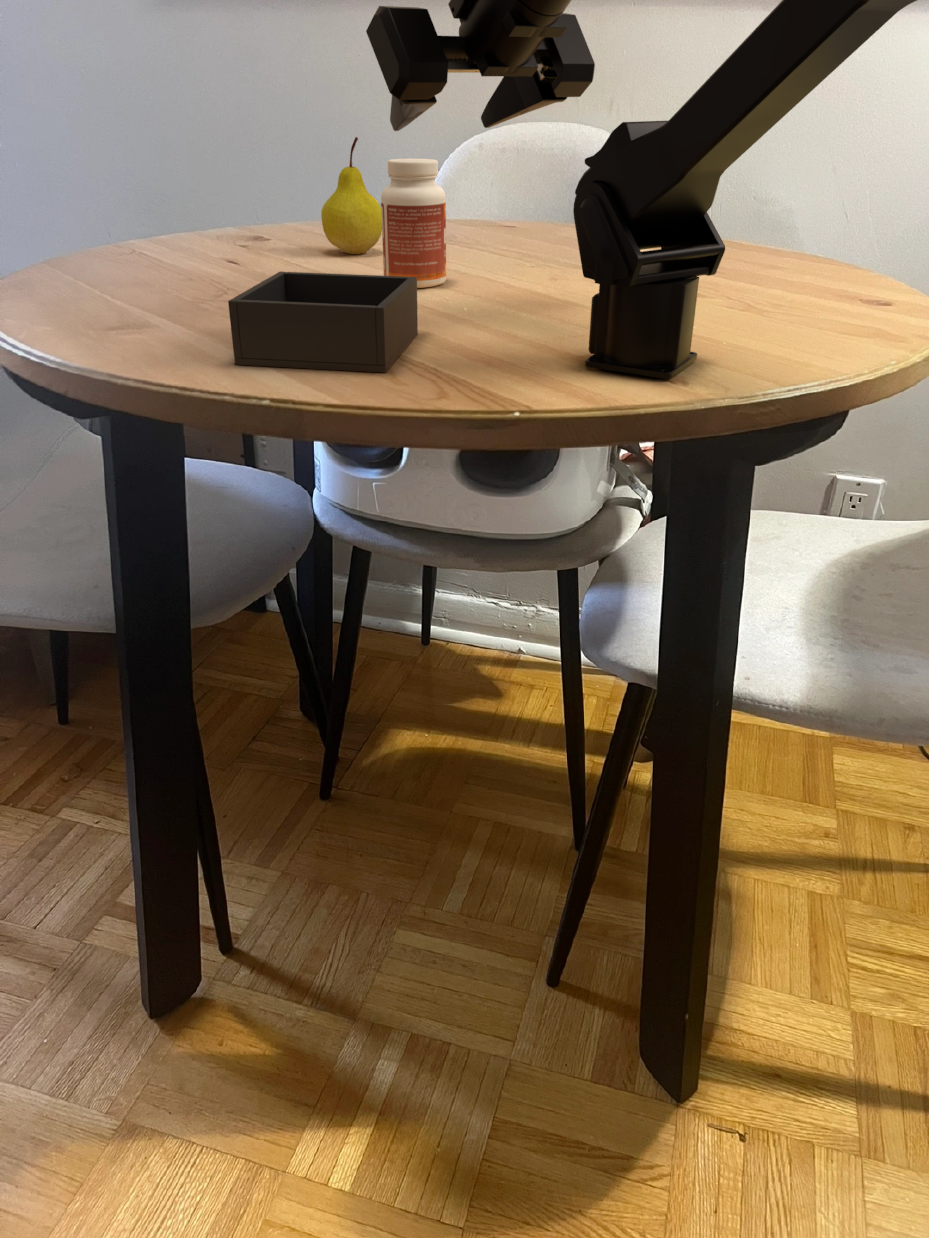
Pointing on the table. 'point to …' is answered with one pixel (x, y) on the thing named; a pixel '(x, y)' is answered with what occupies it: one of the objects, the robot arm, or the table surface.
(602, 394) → the table surface
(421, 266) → the pill bottle
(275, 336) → the black open box
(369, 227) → the fruit
